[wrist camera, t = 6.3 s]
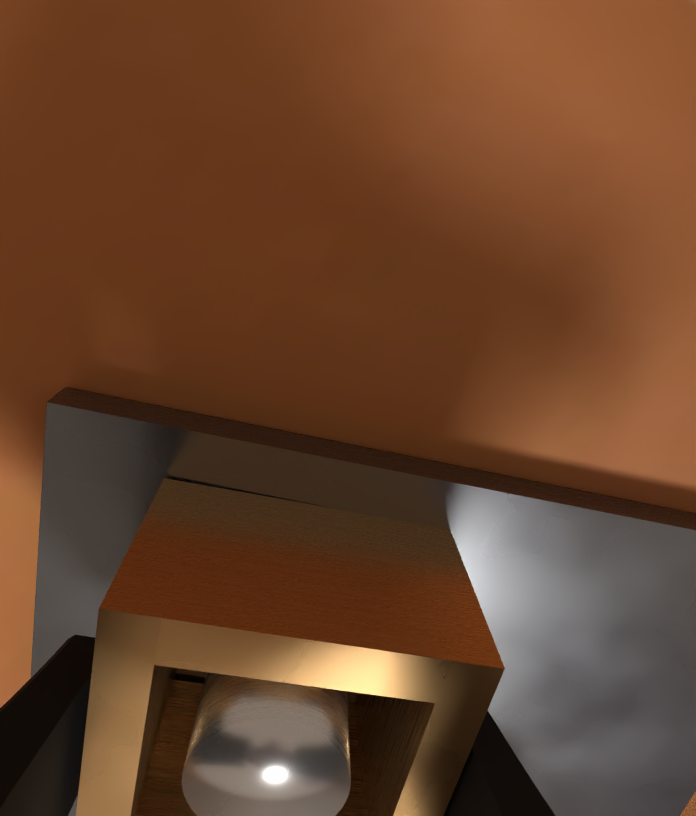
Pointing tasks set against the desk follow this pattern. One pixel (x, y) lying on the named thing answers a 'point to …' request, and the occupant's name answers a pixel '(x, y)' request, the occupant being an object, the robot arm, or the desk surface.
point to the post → (267, 749)
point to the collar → (287, 645)
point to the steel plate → (483, 559)
